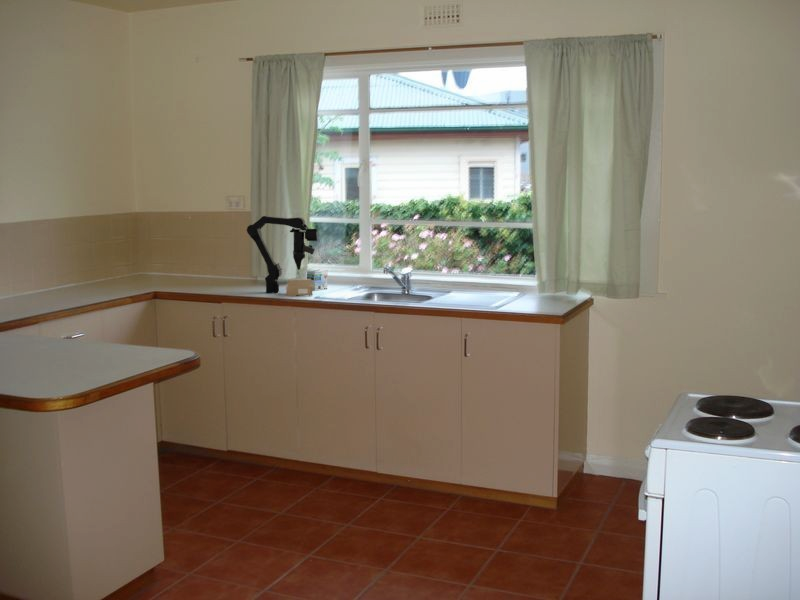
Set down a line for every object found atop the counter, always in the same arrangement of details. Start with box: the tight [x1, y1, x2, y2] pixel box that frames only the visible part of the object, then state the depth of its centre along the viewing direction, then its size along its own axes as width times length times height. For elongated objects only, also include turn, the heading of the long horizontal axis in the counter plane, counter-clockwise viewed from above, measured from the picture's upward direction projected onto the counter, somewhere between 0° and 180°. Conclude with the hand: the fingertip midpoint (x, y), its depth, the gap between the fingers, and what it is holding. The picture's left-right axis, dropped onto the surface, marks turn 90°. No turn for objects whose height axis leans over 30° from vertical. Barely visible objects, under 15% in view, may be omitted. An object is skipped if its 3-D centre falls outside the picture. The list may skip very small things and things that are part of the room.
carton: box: [286, 283, 313, 297], centre depth 469 cm, size 14×11×5 cm
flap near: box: [287, 278, 311, 286], centre depth 461 cm, size 12×5×1 cm
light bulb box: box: [306, 269, 328, 291], centre depth 491 cm, size 11×7×11 cm, turn 143°
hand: (298, 269), depth 472 cm, fingers closed
